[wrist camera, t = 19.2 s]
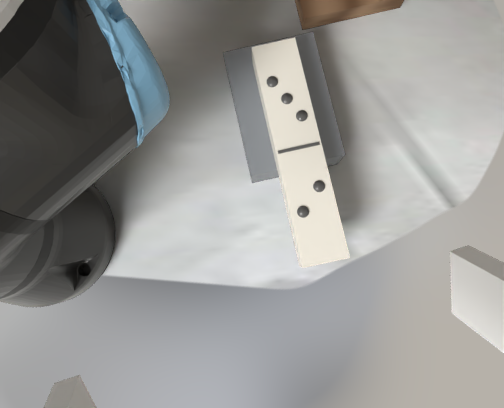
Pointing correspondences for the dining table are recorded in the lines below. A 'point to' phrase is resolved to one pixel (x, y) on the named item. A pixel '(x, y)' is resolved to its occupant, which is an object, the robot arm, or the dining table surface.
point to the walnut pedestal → (339, 10)
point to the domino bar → (299, 154)
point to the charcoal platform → (253, 113)
